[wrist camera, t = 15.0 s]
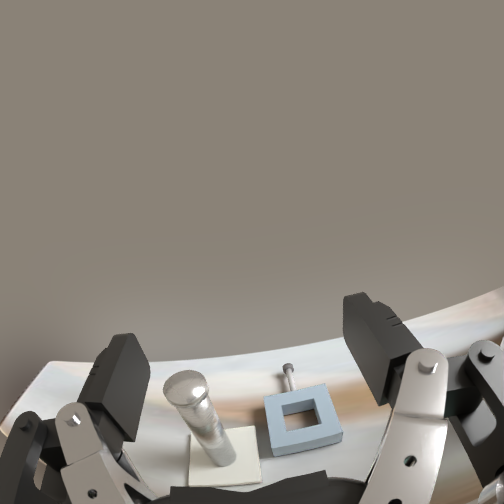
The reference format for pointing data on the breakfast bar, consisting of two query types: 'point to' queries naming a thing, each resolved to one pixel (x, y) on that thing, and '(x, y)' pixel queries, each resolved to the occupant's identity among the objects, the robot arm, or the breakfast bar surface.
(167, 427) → the breakfast bar surface
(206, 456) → the felt pad
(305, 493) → the robot arm
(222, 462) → the steel pin
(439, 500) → the breakfast bar surface
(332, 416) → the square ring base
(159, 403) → the breakfast bar surface
